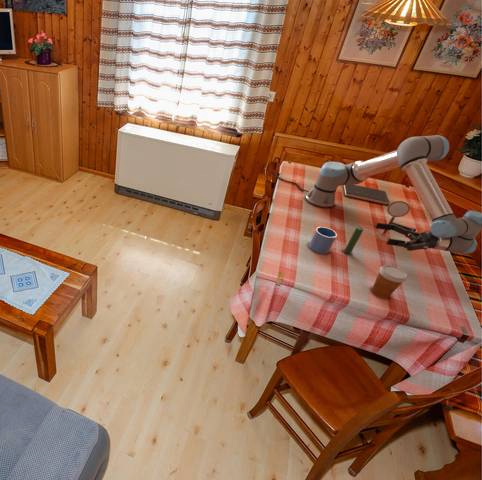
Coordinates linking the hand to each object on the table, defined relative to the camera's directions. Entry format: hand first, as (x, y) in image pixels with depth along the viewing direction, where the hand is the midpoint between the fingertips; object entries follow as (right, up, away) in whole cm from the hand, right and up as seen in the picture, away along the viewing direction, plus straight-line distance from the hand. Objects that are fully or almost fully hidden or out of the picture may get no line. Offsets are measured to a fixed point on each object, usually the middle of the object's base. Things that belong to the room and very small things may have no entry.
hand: (381, 233), depth 171 cm
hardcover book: (+34, +25, +60) cm, 73 cm away
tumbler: (-23, -7, +11) cm, 26 cm away
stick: (-10, -9, +9) cm, 16 cm away
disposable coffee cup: (-11, -26, -14) cm, 31 cm away
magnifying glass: (+18, -1, +23) cm, 30 cm away
